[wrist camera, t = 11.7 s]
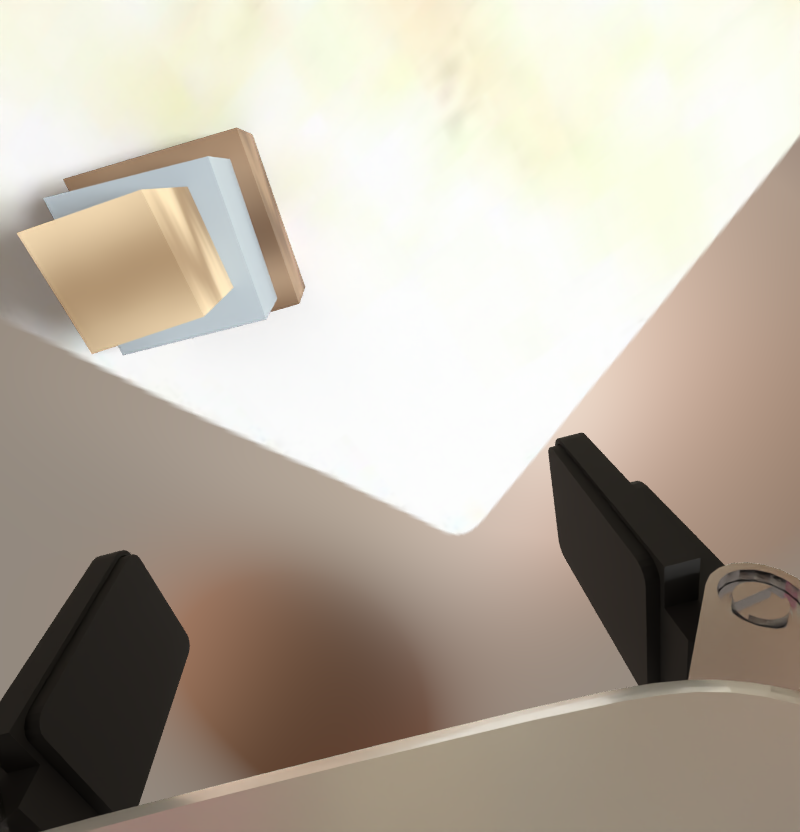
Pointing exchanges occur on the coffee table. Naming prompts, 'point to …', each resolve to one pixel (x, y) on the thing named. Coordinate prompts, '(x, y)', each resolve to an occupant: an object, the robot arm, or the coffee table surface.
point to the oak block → (130, 265)
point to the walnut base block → (252, 187)
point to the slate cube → (226, 228)
